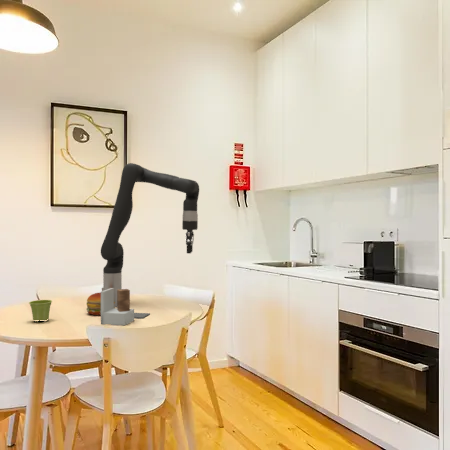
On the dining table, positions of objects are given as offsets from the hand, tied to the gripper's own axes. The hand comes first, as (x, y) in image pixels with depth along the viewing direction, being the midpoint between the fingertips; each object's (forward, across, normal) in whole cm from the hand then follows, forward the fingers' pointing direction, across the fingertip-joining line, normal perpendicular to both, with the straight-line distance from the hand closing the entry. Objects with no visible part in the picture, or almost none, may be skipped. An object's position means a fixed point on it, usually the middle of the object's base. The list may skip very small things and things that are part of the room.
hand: (189, 252), depth 223 cm
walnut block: (+24, +26, -27) cm, 44 cm away
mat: (+29, +15, -23) cm, 40 cm away
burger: (+29, +9, -41) cm, 52 cm away
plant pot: (+30, +26, -63) cm, 74 cm away
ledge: (+29, +28, -29) cm, 49 cm away
